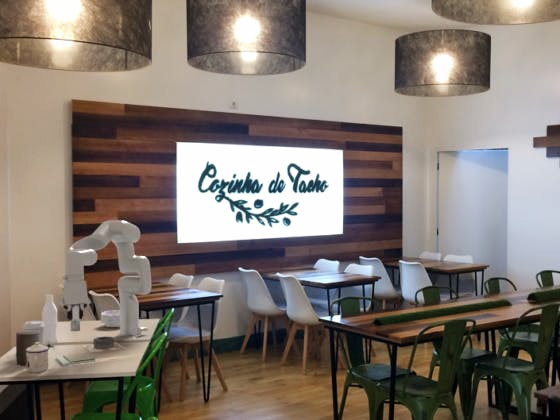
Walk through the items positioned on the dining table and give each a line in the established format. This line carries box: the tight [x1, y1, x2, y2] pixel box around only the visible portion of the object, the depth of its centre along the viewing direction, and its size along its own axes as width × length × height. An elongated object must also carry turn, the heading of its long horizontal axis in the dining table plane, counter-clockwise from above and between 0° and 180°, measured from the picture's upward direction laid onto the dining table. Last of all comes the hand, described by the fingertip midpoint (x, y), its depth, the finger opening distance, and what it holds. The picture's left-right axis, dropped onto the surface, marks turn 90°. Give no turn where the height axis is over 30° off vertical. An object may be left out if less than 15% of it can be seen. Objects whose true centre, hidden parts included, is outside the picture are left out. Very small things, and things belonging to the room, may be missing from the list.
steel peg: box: [70, 304, 81, 332], centre depth 288 cm, size 4×4×13 cm
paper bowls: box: [100, 309, 120, 328], centre depth 365 cm, size 15×15×8 cm
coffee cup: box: [22, 320, 45, 346], centre depth 299 cm, size 10×10×15 cm
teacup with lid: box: [26, 342, 50, 373], centre depth 272 cm, size 12×9×12 cm
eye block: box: [83, 336, 125, 353], centre depth 308 cm, size 16×16×6 cm
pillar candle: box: [15, 329, 40, 366], centre depth 285 cm, size 10×10×15 cm
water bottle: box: [41, 293, 59, 347], centre depth 318 cm, size 7×7×25 cm
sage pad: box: [55, 355, 97, 367], centre depth 289 cm, size 14×14×1 cm
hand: (75, 318), depth 288 cm, fingers closed on steel peg, 4 cm apart
